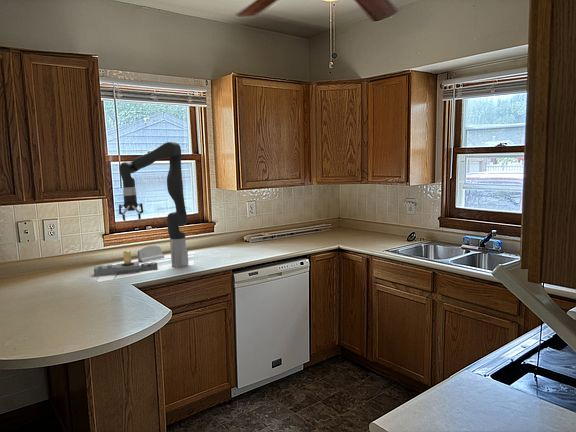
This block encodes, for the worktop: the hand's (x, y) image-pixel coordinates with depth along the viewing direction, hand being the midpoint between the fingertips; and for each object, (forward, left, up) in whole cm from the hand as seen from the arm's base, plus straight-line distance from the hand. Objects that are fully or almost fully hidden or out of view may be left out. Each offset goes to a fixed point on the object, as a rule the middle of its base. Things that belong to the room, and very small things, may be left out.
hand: (131, 220), depth 272 cm
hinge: (+1, -14, -28) cm, 32 cm away
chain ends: (-9, +15, -28) cm, 33 cm away
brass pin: (-9, +15, -28) cm, 33 cm away
